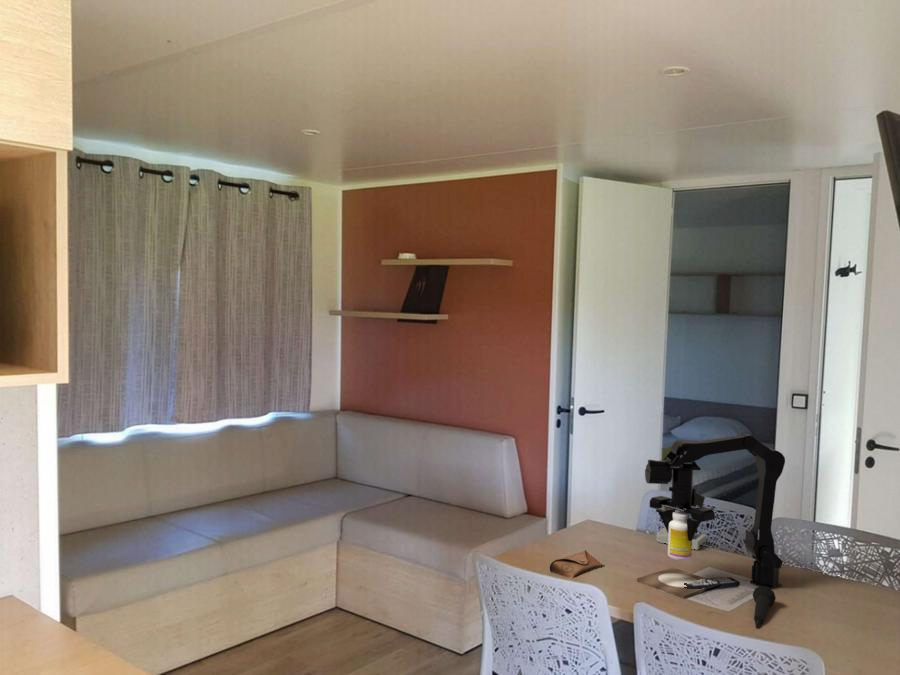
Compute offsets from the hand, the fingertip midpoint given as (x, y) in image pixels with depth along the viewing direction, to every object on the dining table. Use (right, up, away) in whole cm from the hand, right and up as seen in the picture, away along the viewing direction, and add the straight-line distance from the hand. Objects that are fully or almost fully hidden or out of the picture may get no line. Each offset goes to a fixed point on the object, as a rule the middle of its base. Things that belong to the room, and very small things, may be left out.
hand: (680, 537), depth 215 cm
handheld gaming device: (+12, -13, +38) cm, 42 cm away
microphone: (+14, -15, -21) cm, 29 cm away
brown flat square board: (-1, -13, -1) cm, 13 cm away
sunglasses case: (-28, -13, +10) cm, 32 cm away
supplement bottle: (0, -6, 0) cm, 6 cm away
